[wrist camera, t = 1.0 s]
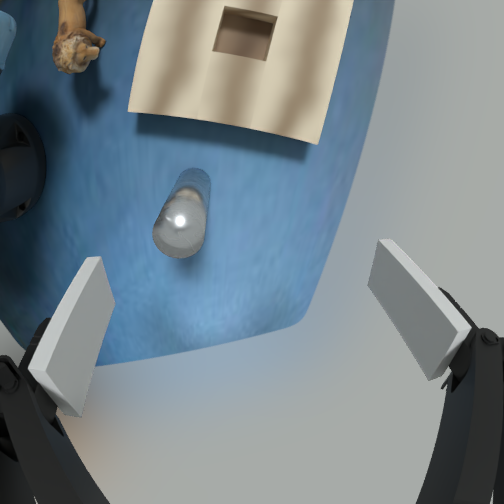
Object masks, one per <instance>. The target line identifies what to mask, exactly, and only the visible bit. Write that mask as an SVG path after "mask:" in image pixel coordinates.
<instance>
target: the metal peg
mask: <svg viewBox="0 0 504 504" xmlns="http://www.w3.org/2000/svg"><path fill="white" fill-rule="evenodd" d="M210 186H211V182H210V178H209V176H208V175H207V173H206V172H205V171H203V170H201V169H199V168H189V169H187V170H185V171H183V172H182V173H181V174H180V176H179V178H178V180H177V181H176V183H175V185H174V187H173V189H172V191H171V193H170V194H169V196H168V198H167V200H166V202H165V204H164V206H163V208H162V210H161V212H160V214H159V216H158V218H157V220H156V222H155V224H154V227H153V231H152V235H153V240H154V243H155V245H156V246H157V248H158V249H159V250H160V251H161V252H162V253H164V254H165V255H167V256H169V257H172V258H187V257H190V256H192V255H194V254H195V253H196V252H198V251H199V249H200V248H201V246H202V244H203V241H204V235H205V226H206V217H207V209H208V201H209V193H210Z"/></svg>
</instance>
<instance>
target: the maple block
mask: <svg viewBox="0 0 504 504" xmlns="http://www.w3.org/2000/svg"><path fill="white" fill-rule="evenodd" d="M353 1H354V0H154V1H153V4H152V7H151V10H150V14H149V17H148V21H147V24H146V28H145V31H144V35H143V39H142V43H141V47H140V51H139V55H138V60H137V64H136V69H135V74H134V79H133V84H132V89H131V95H130V100H129V106H128V112H138V113H149V114H159V115H168V116H176V117H184V118H192V119H198V120H205V121H211V122H217V123H223V124H229V125H234V126H239V127H245V128H250V129H254V130H259V131H264V132H268V133H273V134H277V135H281V136H286V137H290V138H294V139H298V140H302V141H306V142H309V143H313V144H317V145H318V142H319V139H320V135H321V131H322V128H323V124H324V120H325V116H326V113H327V109H328V105H329V101H330V97H331V93H332V89H333V85H334V82H335V78H336V74H337V70H338V65H339V61H340V57H341V53H342V49H343V45H344V40H345V36H346V32H347V28H348V23H349V19H350V14H351V10H352V5H353Z"/></svg>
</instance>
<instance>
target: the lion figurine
mask: <svg viewBox="0 0 504 504" xmlns="http://www.w3.org/2000/svg"><path fill="white" fill-rule="evenodd" d="M85 1H86V0H59V1H58V6H59V31H58V33H57V36H56V40H55V41H54V46H53V47H52V48H53V61H54V63H55V65H56V67H57V68H58V71H63V72H65V73H67V74H71V73H77V72H78V73H80V72H83V71H84V70H85V69H86V68H87V66H88V65H89V63H90V61H91V60H95V59H96V58H97V57H98V53H99V48H98V47H102V46H103V45H104V44H105V42H106V41H105V40H104V39H103V38H101V37H98V36H96V35H95V34H93V33H91V32H90V31H88V30H86V16H85V11H84V8H83V3H84V2H85ZM92 43H93V44H95V45H96V47H92Z"/></svg>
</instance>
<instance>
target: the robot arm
mask: <svg viewBox="0 0 504 504" xmlns="http://www.w3.org/2000/svg"><path fill="white" fill-rule="evenodd" d="M16 30H17V27H16V22H15V20H14V19H13V18H12V17H11V16H10V15H8V14H7V13H5V12H3V11H1V10H0V74H1V72H2V70H4V68H5V61H6V58H7V55H8V52H9V50H10V47H11V45H12V42H13V40H14V38H15V35H16ZM45 176H46V158H45V152H44V147H43V144H42V141H41V138H40V136H39V134H38V132H37V130H36V129H35V127H34V126H33V125H32V123H31V122H30V121H29V120H27V119H26V118H25V117H23V116H21V115H18V114H14V113H8V114H3V115H0V223H1V222H5V221H10V220H14V219H16V218H19V217H20V216H22V215H23V214H25V213H26V212H27V211H28V210H30V209H31V208H32V207H33V206H34V205H35V204H36V202H37V201H38V199H39V197H40V195H41V193H42V190H43V187H44V182H45ZM368 287H369V288H370V290H371V291H372V292H373V293H374V295H375V297H376V298H377V300H378V301H379V303H380V304H381V305H382V307H383V309H384V310H385V312H386V313H387V315H388V316H389V318H390V319H391V321H392V322H393V324H394V325H395V327H396V329H397V330H398V331H399V333H400V335H401V336H402V338H403V339H404V341H405V343H406V344H407V346H408V347H409V349H410V351H411V352H412V354H413V356H414V357H415V359H416V360H417V362H418V364H419V365H420V367H421V369H422V370H423V372H424V374H425V376H426V377H427V379H428V381H430V380H433V379H435V378H438V377H440V376H442V375H443V374H444V372H445V370H446V369H447V367H448V366H449V367H450V369H451V371H452V372H451V373H450V375H449V376H448V378H447V379H446V381H445V382H444V383H443V385H442V387H441V389H443V388H444V387H445V386H446V384H447V389H446V397H445V403H444V408H443V414H442V418H441V422H440V427H439V432H438V435H437V440H436V443H435V447H434V451H433V454H432V458H431V461H430V464H429V468H428V471H427V474H426V477H425V480H424V483H423V486H422V488H421V492H420V494H419V497H418V499H417V502H416V504H490V501H491V497H492V492H493V504H504V338H503V337H502V338H499V337H498V336H497V335H496V334H495V333H494V332H493V331H491V330H490V329H487V328H481V329H479V328H478V327H477V326H476V325H475V323H474V322H473V321H472V320H471V319H470V317H469V316H468V315H467V314H466V313H465V311H464V310H463V309H462V308H460V306H459V305H458V303H457V302H455V300H454V299H453V298H452V297H451V295H450V294H449V293H447V292H446V291H444V290H443V289H442V288H440V287H436V285H435V284H434V283H433V282H432V281H431V280H430V279H429V278H428V277H427V275H426V274H425V273H424V272H423V271H422V270H421V269H420V268H419V267H418V266H417V265H416V264H415V263H414V262H413V261H412V260H411V259H410V258H409V257H408V256H407V255H406V254H405V253H404V252H403V251H402V250H401V249H400V248H399V247H398V246H397V245H396V244H395V243H394V242H393V241H392V240H391V239H380V240H378V243H377V248H376V252H375V257H374V261H373V265H372V269H371V274H370V278H369V282H368ZM114 306H115V301H114V298H113V295H112V292H111V288H110V285H109V282H108V279H107V276H106V272H105V269H104V265H103V262H102V258H101V257H87V258H86V260H85V261H84V263H83V265H82V266H81V268H80V269H79V271H78V273H77V274H76V276H75V278H74V279H73V281H72V283H71V284H70V286H69V288H68V290H67V291H66V293H65V295H64V297H63V298H62V300H61V302H60V304H59V306H58V307H57V309H56V311H55V313H54V315H53V317H52V318H46V319H45V320H44V321H43V322H42V323H41V324H40V325H39V326H38V328H37V330H36V332H35V334H34V337H33V338H32V340H31V342H30V345H29V346H28V348H27V350H26V352H25V354H24V356H23V358H22V360H21V362H20V365H19V367H17V366H16V365H15V363H14V362H13V360H12V359H11V358H10V357H9V356H7V355H1V356H0V504H36V502H35V499H36V501H37V502H38V504H110V503H109V501H108V500H107V499H106V497H105V496H104V495H103V493H102V492H101V490H100V489H99V487H98V486H97V484H96V483H95V481H94V480H93V478H92V477H91V475H90V474H89V472H88V471H87V469H86V467H85V466H84V464H83V462H82V461H81V459H80V457H79V456H78V454H77V452H76V450H75V449H74V447H73V445H72V443H71V441H70V439H69V438H68V436H67V434H66V432H65V430H64V428H63V426H62V424H61V422H60V420H59V418H58V417H57V415H56V410H57V407H58V408H59V409H60V410H61V411H62V412H63V413H64V415H69V416H75V417H82V413H83V409H84V405H85V400H86V397H87V393H88V389H89V385H90V381H91V378H92V374H93V371H94V367H95V364H96V361H97V357H98V354H99V351H100V348H101V344H102V341H103V338H104V335H105V332H106V329H107V326H108V323H109V320H110V318H111V315H112V312H113V309H114ZM34 497H35V498H34Z"/></svg>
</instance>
